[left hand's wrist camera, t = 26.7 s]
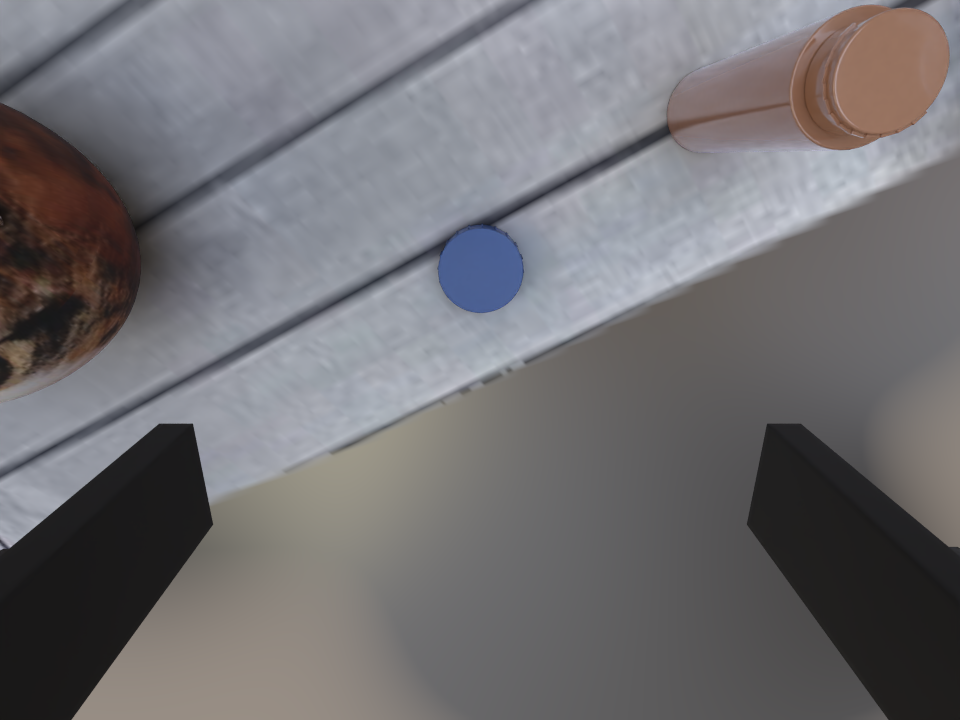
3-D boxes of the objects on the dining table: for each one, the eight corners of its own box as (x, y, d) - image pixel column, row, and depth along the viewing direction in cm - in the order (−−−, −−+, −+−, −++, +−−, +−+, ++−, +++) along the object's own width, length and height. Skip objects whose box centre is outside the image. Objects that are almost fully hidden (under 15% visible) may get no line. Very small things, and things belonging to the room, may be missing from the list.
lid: (534, 285, 39) (537, 292, 37) (461, 318, 40) (460, 326, 38) (501, 209, 37) (502, 212, 35) (425, 245, 38) (422, 250, 36)
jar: (650, 111, 35) (790, 74, 19) (713, 47, 34) (917, -48, 18) (699, 169, 36) (868, 179, 21) (761, 109, 35) (993, 71, 19)
